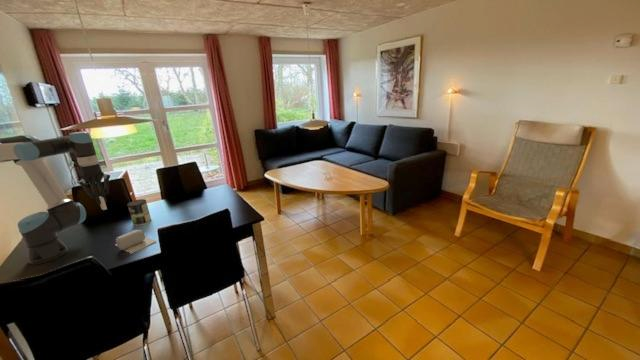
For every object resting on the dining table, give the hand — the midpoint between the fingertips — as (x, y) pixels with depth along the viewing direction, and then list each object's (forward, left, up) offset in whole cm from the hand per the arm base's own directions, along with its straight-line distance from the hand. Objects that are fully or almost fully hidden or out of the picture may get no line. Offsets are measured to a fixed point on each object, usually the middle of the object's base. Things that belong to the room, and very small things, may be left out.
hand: (104, 208), depth 137 cm
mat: (+8, -2, -24) cm, 26 cm away
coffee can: (+24, +24, -25) cm, 42 cm away
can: (0, -3, -20) cm, 20 cm away
